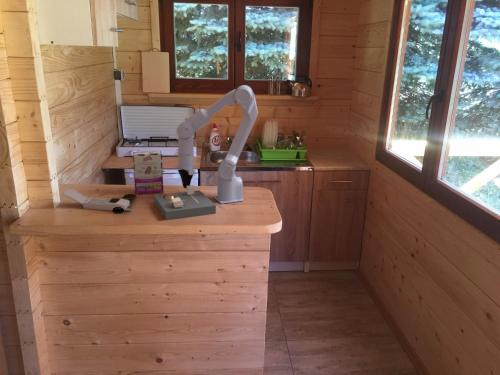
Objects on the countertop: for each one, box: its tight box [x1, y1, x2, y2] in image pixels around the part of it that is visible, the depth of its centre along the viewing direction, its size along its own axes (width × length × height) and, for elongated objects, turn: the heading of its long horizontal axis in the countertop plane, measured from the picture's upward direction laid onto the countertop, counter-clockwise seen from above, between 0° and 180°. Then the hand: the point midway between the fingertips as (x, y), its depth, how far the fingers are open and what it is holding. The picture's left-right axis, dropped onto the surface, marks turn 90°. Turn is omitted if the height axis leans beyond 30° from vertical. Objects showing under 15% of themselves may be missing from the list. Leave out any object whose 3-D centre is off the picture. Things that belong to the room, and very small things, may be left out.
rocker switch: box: [171, 197, 183, 208], centre depth 147 cm, size 3×5×1 cm, turn 25°
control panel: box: [153, 189, 217, 221], centre depth 153 cm, size 18×18×5 cm
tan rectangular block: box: [186, 184, 195, 195], centre depth 158 cm, size 2×2×3 cm
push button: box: [165, 193, 175, 200], centre depth 156 cm, size 4×4×3 cm
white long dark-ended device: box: [61, 187, 132, 212], centre depth 151 cm, size 6×6×25 cm
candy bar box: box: [132, 150, 164, 195], centre depth 167 cm, size 11×5×16 cm, turn 106°
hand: (186, 187), depth 163 cm, fingers closed
